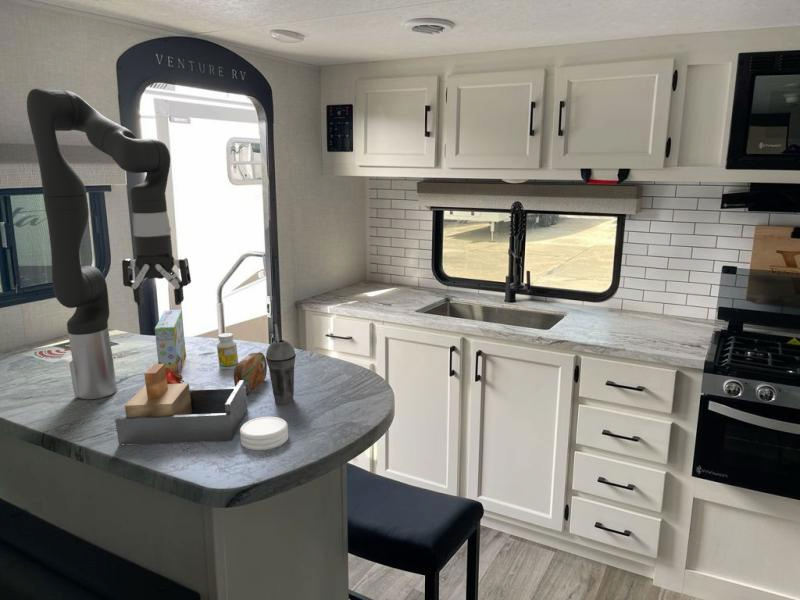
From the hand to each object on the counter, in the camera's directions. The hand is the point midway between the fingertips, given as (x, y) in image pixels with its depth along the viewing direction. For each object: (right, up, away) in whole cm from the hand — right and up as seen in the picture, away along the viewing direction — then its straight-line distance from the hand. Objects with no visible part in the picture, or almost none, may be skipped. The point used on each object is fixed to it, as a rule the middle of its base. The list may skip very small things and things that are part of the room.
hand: (159, 304), depth 139 cm
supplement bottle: (+5, -19, +39) cm, 44 cm away
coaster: (+25, -29, -7) cm, 39 cm away
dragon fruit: (-5, -24, +18) cm, 30 cm away
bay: (+6, -28, 0) cm, 28 cm away
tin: (+15, -22, +23) cm, 35 cm away
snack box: (-11, -19, +40) cm, 46 cm away
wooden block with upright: (+1, -27, 0) cm, 27 cm away
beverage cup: (+26, -24, +14) cm, 38 cm away
